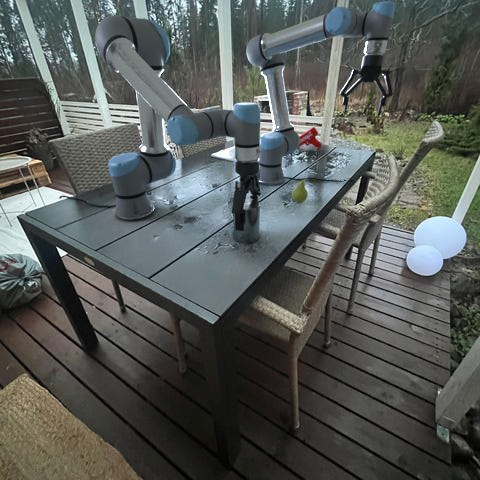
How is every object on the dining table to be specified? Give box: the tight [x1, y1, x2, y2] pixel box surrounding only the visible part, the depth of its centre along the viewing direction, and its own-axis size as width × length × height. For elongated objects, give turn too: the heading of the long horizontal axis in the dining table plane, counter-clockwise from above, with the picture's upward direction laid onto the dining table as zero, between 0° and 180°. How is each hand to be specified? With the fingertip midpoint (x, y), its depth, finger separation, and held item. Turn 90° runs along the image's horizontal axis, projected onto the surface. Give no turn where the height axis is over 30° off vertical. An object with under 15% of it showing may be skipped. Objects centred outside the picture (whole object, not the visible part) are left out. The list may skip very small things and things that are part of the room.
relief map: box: [210, 146, 260, 162], centre depth 182 cm, size 27×35×5 cm
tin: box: [233, 197, 261, 244], centre depth 94 cm, size 9×9×13 cm
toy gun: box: [298, 126, 323, 149], centre depth 197 cm, size 18×4×15 cm
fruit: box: [291, 174, 311, 204], centre depth 118 cm, size 7×8×12 cm
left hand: (247, 220), depth 94 cm, fingers open, 13 cm apart
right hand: (361, 114), depth 116 cm, fingers open, 13 cm apart
